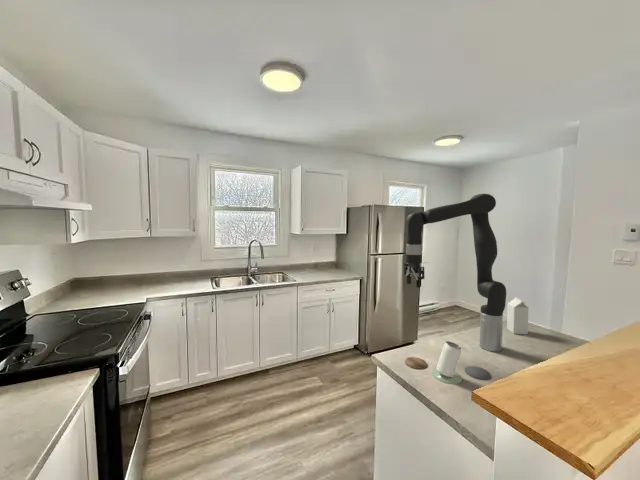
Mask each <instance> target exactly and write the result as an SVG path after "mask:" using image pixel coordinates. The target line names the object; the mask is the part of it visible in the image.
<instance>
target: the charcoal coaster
mask: <svg viewBox="0 0 640 480" xmlns="http://www.w3.org/2000/svg"><path fill="white" fill-rule="evenodd" d="M464 372H465V374H466V375H467V376H469V377H471V378H473V379H475V380H476V379H477V380H483V381H485V380H486V381H487V380H489V379H490V378H491V373H490V372H489V371H488V370H487V369H484V368H482V367H480V366H476V365H475V366H474V365H469V366H466V367H464Z"/></svg>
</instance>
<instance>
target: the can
mask: <svg viewBox="0 0 640 480" xmlns="http://www.w3.org/2000/svg"><path fill="white" fill-rule="evenodd" d="M461 353H462V347H461V346H460V345H459V344H456V343H455V342H452V341H448V340H447V341H445V343H444V344H443V345H442V350H441V353H440V355H439V358H438V361H437V365H436V368H437V371H438V372H439V373H441V374H442V375H444V376H446V377H453V375H454V372H456V369H457V366H458V363H459V360H460V357H461Z"/></svg>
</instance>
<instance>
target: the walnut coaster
mask: <svg viewBox="0 0 640 480" xmlns="http://www.w3.org/2000/svg"><path fill="white" fill-rule="evenodd" d="M404 363H405V365H406V366H407V367H409V368H411V369H415V370H423V369H424V370H425V369H426V368H427V366H428V363H427V361H425V360H424V359H422V358H419V357H415V356H410V357H409V356H408V357H407V358H405V360H404Z"/></svg>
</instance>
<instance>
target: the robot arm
mask: <svg viewBox="0 0 640 480" xmlns="http://www.w3.org/2000/svg"><path fill="white" fill-rule="evenodd" d="M496 205H497V201H496V198H495V197H494V196H493V195H491V194H489V193H479V194H475V195H473V196H471V198H470V199H469V200H466V201H462V202H457V203H452V204H446V205H440V206H437V207H433V208H429V209H427V210H424V211H417V212H413V213H409V215H407V217H406V219H405V223H406V224H407V234H406V247H405V263H404V264H403V275H405V277H406V284H407V285H410V284H412V275H413V276H414V277H415V279H416V281H415V283H416V284H415V286H416V288H419V289H420V288H421V287H422V280H425V266H421V264H423V263H422V262H423V246H422V245H423V244H422V243H423V242H422V240H423V239H422V238H423V237H422V234H423V227H424V225H427V224H428V225H429V224H435V223H440V222H443V221H447V220H451V219H455V218H457V217H462V216H466V215H467V216H468V215H470V217H471V218H470V219H471V223H472V230H473V231H472V233H473V244H474V253H475V260H476V270H477V271H476V275H477V276H476V279H477V281H476V282H477V283H476V287H477V292H478V294H479V295H480V296H481V297H483V298H486V299H487V300H486V301H487V303H486V304H483V305H480V317H479V319H480V320H479V321H480V322H479V347H480V348H482V349H483V350H487V351H488V352H489V351H490V352H501V351H502V350H503V329H504V328H503V323H504V322H503V318H504V310H505V309H506V300H507V288H506V286H505V284H504V283H502V282H501V281H496V280H494V279H493V273H492V272H493V271H492V270H493V265H494V263H495V261H496V259H497V257H498V242H497V238H496V235H495V232H494V231H493V229H492V226H491V223H490V220H489V213H490V212H491V211H493V210H494V209H495V207H496Z"/></svg>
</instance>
